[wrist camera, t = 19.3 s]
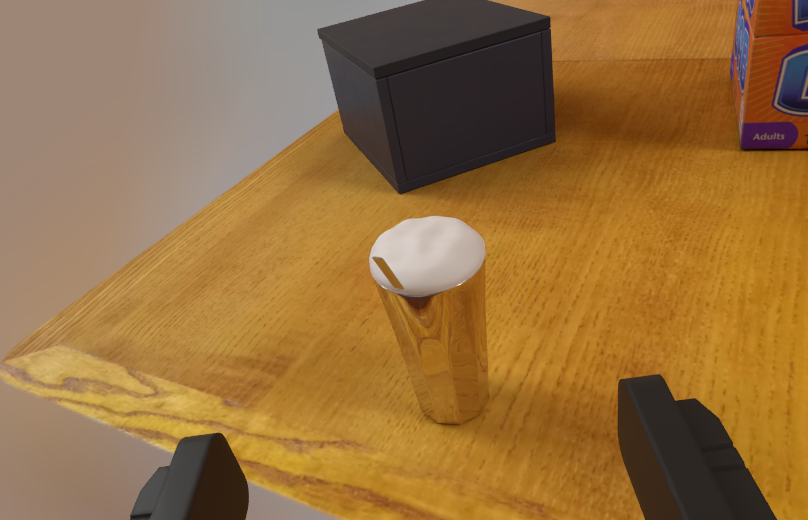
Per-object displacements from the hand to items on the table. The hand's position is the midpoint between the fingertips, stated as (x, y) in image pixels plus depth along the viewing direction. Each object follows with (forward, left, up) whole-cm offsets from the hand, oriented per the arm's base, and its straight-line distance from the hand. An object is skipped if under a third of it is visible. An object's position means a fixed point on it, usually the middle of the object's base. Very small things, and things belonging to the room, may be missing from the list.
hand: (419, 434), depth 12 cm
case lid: (-6, +42, -3) cm, 43 cm away
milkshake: (-2, +11, -12) cm, 16 cm away
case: (-6, +42, -11) cm, 44 cm away
